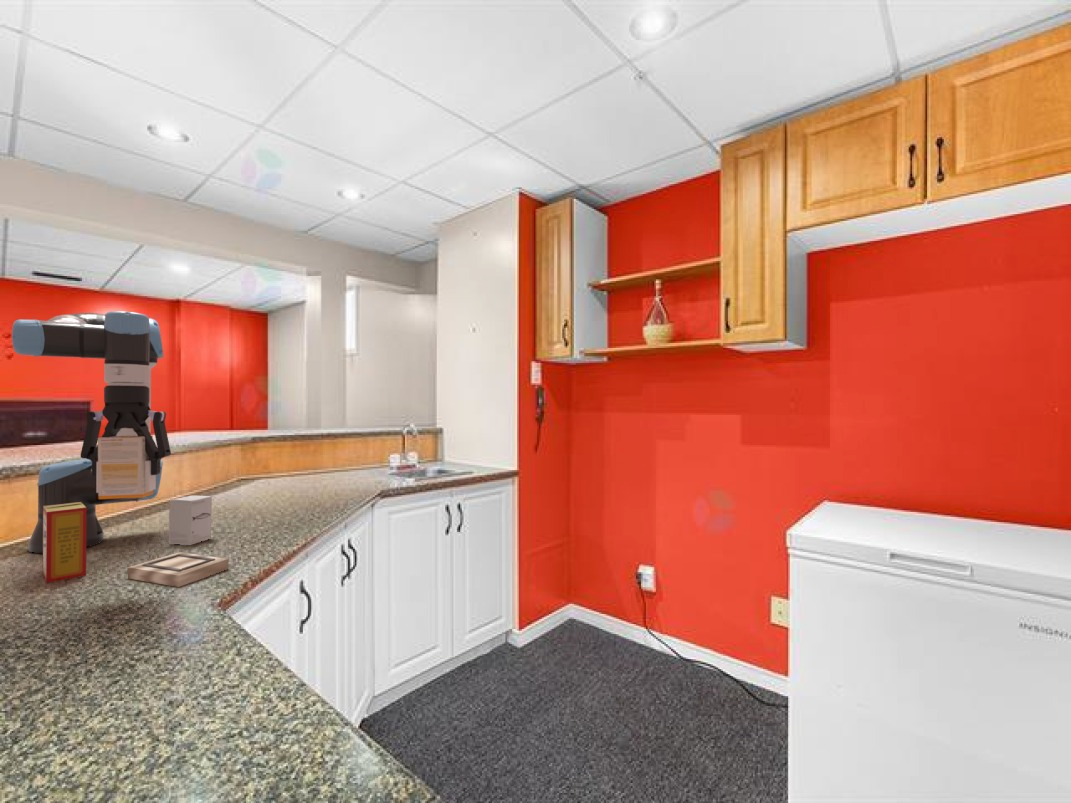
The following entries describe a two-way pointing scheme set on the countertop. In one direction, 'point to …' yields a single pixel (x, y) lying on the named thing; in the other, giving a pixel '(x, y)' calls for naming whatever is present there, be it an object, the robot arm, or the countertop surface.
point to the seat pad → (178, 569)
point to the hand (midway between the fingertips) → (126, 490)
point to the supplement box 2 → (190, 519)
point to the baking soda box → (64, 541)
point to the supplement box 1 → (122, 467)
